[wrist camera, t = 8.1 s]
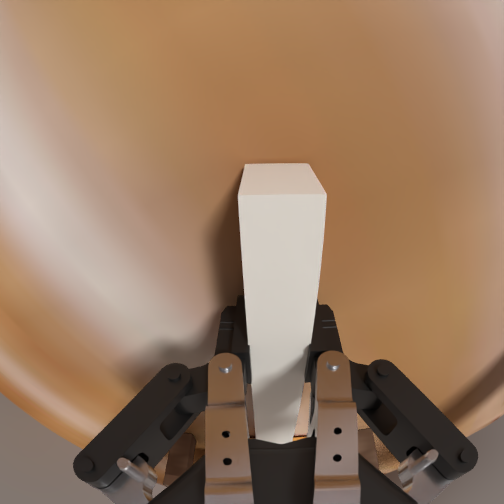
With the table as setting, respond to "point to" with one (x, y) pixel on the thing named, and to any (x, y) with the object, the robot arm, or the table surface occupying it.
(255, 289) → the long white slat
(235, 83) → the table surface
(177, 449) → the low walnut stand
